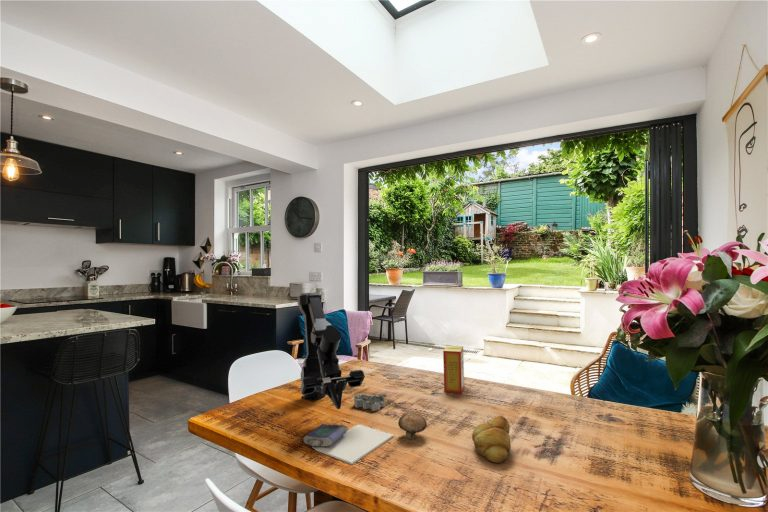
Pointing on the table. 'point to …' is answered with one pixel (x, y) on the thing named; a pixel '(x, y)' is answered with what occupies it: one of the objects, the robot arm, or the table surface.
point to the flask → (325, 435)
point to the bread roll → (493, 439)
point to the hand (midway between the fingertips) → (338, 408)
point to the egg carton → (370, 401)
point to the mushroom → (412, 424)
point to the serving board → (355, 444)
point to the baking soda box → (453, 369)
